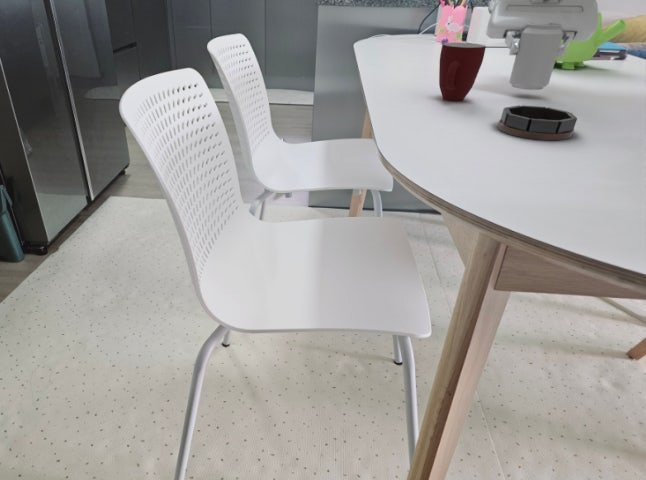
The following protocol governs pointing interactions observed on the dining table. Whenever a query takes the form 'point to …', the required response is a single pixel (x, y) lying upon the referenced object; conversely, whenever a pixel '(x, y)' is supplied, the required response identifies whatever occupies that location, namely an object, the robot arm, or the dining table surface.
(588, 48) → the teapot
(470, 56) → the mug
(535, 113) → the base pad
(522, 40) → the can
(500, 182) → the dining table surface
